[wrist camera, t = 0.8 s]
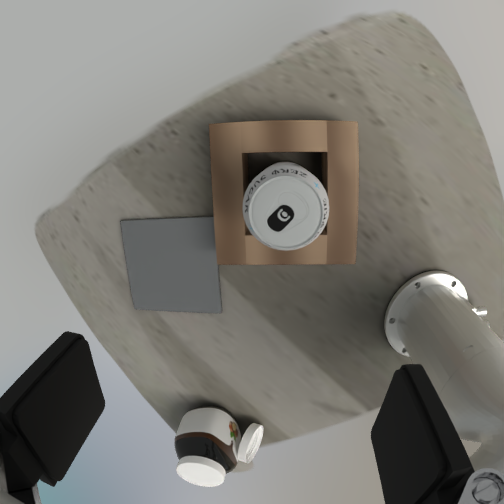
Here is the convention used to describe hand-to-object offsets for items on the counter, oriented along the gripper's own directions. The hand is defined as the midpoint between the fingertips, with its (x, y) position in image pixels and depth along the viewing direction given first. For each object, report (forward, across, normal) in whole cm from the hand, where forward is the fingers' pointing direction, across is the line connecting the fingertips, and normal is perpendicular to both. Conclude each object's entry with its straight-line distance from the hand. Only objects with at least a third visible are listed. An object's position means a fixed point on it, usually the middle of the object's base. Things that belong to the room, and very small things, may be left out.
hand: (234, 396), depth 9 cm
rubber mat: (+28, +12, +8) cm, 32 cm away
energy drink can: (+28, -2, -3) cm, 29 cm away
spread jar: (+28, +4, +34) cm, 44 cm away
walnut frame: (+28, -2, -3) cm, 28 cm away
